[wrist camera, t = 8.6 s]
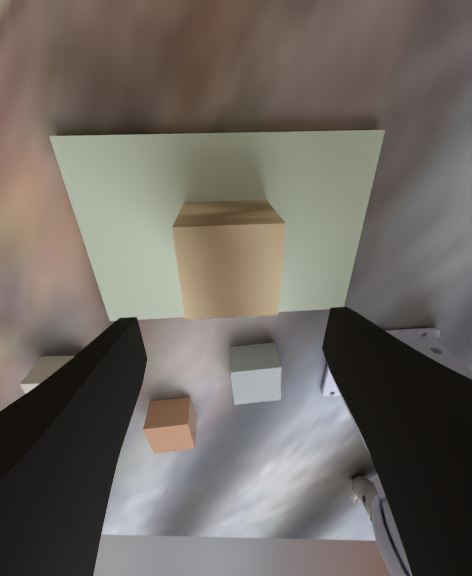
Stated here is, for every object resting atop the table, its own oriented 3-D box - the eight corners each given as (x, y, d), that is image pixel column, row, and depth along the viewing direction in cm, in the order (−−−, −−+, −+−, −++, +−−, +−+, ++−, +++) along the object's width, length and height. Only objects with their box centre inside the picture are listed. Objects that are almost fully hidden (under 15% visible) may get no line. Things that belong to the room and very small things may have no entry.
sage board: (377, 130, 15) (385, 129, 14) (339, 302, 21) (343, 308, 20) (57, 136, 14) (49, 135, 13) (113, 314, 20) (109, 321, 19)
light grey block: (91, 353, 22) (75, 382, 20) (102, 385, 24) (88, 415, 22) (42, 355, 22) (19, 384, 19) (57, 386, 24) (38, 417, 21)
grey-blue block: (274, 341, 23) (281, 367, 20) (273, 372, 25) (280, 399, 22) (229, 345, 23) (230, 372, 20) (232, 376, 25) (234, 404, 22)
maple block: (266, 199, 16) (285, 223, 11) (263, 273, 18) (278, 314, 14) (184, 202, 16) (171, 227, 11) (192, 276, 18) (184, 319, 14)
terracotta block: (190, 395, 26) (187, 424, 23) (196, 419, 28) (194, 448, 25) (150, 399, 26) (143, 429, 23) (159, 423, 28) (154, 453, 25)
